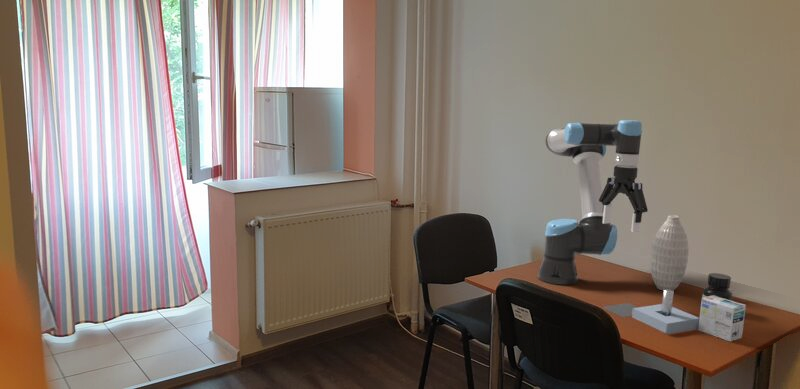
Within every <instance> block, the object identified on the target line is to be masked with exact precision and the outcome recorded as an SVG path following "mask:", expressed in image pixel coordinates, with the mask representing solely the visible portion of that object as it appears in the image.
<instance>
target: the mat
mask: <svg viewBox="0 0 800 389" xmlns="http://www.w3.org/2000/svg"><path fill="white" fill-rule="evenodd" d="M601 308H602V309H604V310H606V311H608V312H611V313H613V314H615V315H617V316H619V317H621V318H626V317H632V311H633V308H638V307H637V306H635V305H633V304H632V303H629V302H626V303H618V304H612V305H606V306H605V305H604V306H601Z"/></svg>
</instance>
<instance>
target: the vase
mask: <svg viewBox="0 0 800 389" xmlns="http://www.w3.org/2000/svg"><path fill="white" fill-rule="evenodd" d="M688 240H689V239H688V237H687V233H686V230H685V228H684V227H683V225H682V223H681V220H680V216H679V215H676V214H675V215H674V214H668V216H667V218H666V220H665V221H664V223H663V224H662V225H661V226H660V227H659V229H658V230H657V232H656V234H655V236H654V239H653V240H652V241H653V242H652V245H651V252H650V271H651V272H650V273H651V276H652V280H653V282H654V286H656V289H658V290H660V291H662V292H663V291H664V289H669V290H673V291H675V290H676V289H677V288H678V286H680V284H681V282H682V281H683V277H684V276H685V273H686V271H687V267H688V261H689V241H688Z"/></svg>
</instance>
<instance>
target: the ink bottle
mask: <svg viewBox="0 0 800 389" xmlns="http://www.w3.org/2000/svg"><path fill="white" fill-rule="evenodd" d="M731 280H732V277H731V276H730V275H728V274H724V273H717V272H710V273H708V278H707V286H706V287H704V288H703V291H702V297H701V299H702V298H703V297H708V296H712V295H715V296H717V297H720V298H724V299H727V300H731V301H733V293H732V291H731V290H730V288H731V287H730V286H731Z"/></svg>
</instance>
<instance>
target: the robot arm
mask: <svg viewBox="0 0 800 389" xmlns="http://www.w3.org/2000/svg"><path fill="white" fill-rule="evenodd" d="M642 127H643V126H642V121H639V120H631V119H621V120H619V121H618V123H612V124H611V123H581V122H569V123H567V124H566V125H565V128H564V127H563V128H555V129H553V130H551V131H549V132H548V133H547V135H546V137H545V145H546V148H547V149H548V151H549V152H551V153H553V154H554V155H557V156H560V157H569V158H572V162H573V164H575V165H576V166H577V175H578V176H577V177H578V185H579V186H578V187H579V194H580V205H581V213H582V214H581V219H579V221H578V220H577V219H572V218H558V219H553V220H551V221H548V222H547V224H546V227H545V232H544V234H545V237H544V249H543V251H544V252H543V259H542V262H541V264H540V267H539V269H538V271H537V278H538V280H540V281H543V282H546V283H548V284H554V285H562V286H563V285H564V286H565V285H566V286H567V285H574V284H576V283H578V281H579V279H578V278H579V275H578V270H577V265H576V263H575V258H576V255H577V254H578V255H595V256H596V255H597V256H602V255H610V254H612V253H613V252H614V250H615V248H616V246H617V245H616V244H617V240H618V228H617V226H616V225H615V224H611V214H612V205H611V204H612V202H613V200H615V198H616V197H617V196H618V195H619V194H623V195H625V196H626V197H628V200H629V203H630V204H631V206H632V208H633V210H634V212H632V220H631V227H630V228H631V229H630V232H631V233H638V232H640V223H642V216H643V213H648V210H649V209H648V206H647V202H646V198H645V194H644V191H643V183H642V182H636V181H635V180H636V179H637V177H638V172H639V170H638V166H639V159H640V148H641V139H642V133H643V130H642ZM607 146H609V147H615V155H614V156H615V157H614V165H615V166H614V167H613V177H608V178H607V181H606V183H605V186H604V189H603V185H602V176H601V167H600V163H601V162H602V160H603V157H605V155H606V153H607Z"/></svg>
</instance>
